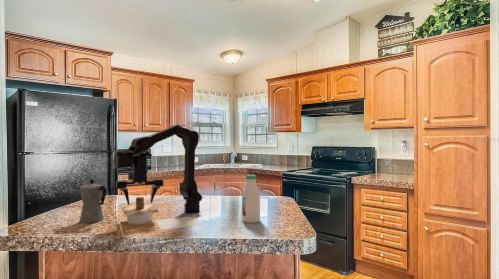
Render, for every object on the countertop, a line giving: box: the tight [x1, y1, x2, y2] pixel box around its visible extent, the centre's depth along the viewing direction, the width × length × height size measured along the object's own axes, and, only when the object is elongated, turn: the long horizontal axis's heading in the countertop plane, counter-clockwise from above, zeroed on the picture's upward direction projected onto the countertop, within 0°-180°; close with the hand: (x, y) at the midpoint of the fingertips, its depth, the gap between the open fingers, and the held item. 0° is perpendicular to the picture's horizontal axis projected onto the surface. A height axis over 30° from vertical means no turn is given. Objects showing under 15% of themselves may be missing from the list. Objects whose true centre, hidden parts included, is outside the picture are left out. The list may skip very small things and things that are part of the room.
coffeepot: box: [79, 179, 108, 224], centre depth 136 cm, size 15×9×18 cm, turn 65°
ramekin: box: [126, 213, 154, 225], centre depth 132 cm, size 11×11×5 cm
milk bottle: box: [241, 174, 261, 224], centre depth 135 cm, size 8×8×20 cm
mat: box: [154, 216, 202, 230], centre depth 130 cm, size 16×16×1 cm
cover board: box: [122, 196, 159, 216], centre depth 132 cm, size 13×13×6 cm
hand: (140, 203), depth 132 cm, fingers open, 9 cm apart
